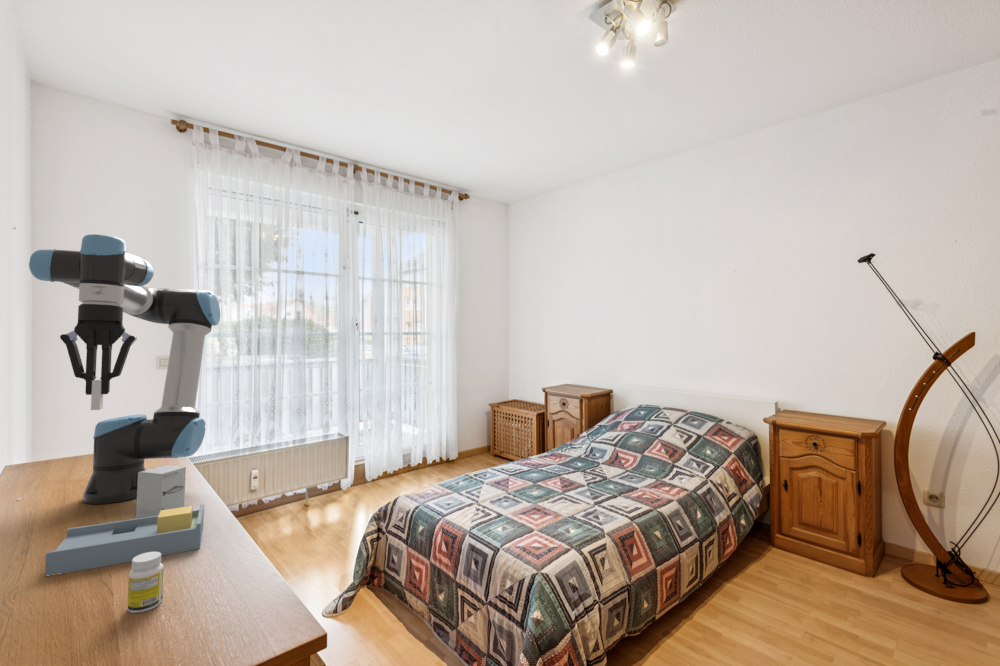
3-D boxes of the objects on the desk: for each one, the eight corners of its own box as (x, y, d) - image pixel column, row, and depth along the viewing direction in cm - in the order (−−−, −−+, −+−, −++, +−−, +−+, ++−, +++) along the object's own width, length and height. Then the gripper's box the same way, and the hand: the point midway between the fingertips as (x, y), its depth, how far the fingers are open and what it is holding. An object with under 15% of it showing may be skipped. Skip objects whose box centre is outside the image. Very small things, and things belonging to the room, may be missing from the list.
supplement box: (158, 524, 111) (160, 473, 112) (134, 522, 113) (136, 471, 113) (185, 514, 118) (186, 466, 119) (162, 511, 120) (163, 464, 120)
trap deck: (67, 549, 97) (68, 523, 97) (203, 526, 110) (204, 504, 110) (44, 577, 86) (46, 548, 86) (199, 548, 98) (200, 523, 99)
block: (160, 528, 102) (160, 510, 102) (191, 523, 105) (192, 505, 105) (156, 536, 98) (157, 517, 98) (190, 530, 101) (190, 512, 101)
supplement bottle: (140, 598, 79) (142, 550, 79) (168, 597, 79) (170, 549, 80) (119, 614, 74) (122, 563, 74) (149, 613, 75) (152, 562, 75)
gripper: (56, 301, 94) (51, 413, 93) (135, 305, 101) (130, 409, 100) (67, 303, 100) (62, 408, 100) (141, 307, 107) (136, 405, 106)
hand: (96, 409), depth 100 cm, fingers closed
